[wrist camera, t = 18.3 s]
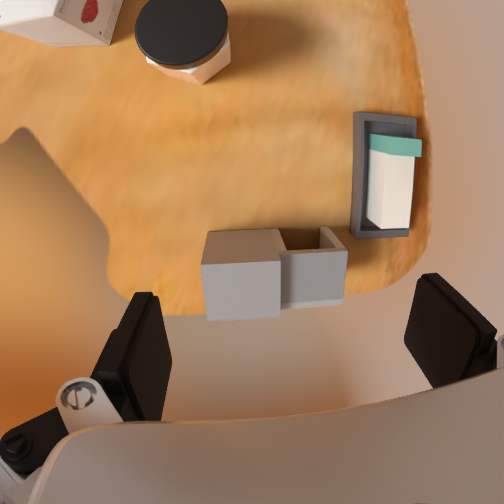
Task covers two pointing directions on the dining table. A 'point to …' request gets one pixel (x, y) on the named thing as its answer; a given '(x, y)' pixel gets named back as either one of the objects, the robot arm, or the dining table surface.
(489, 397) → the robot arm
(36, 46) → the dining table surface
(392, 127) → the tray
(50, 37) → the supplement box
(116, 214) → the dining table surface
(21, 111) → the dining table surface
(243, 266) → the bay
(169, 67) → the jar
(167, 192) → the dining table surface
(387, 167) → the teal-capped white block
